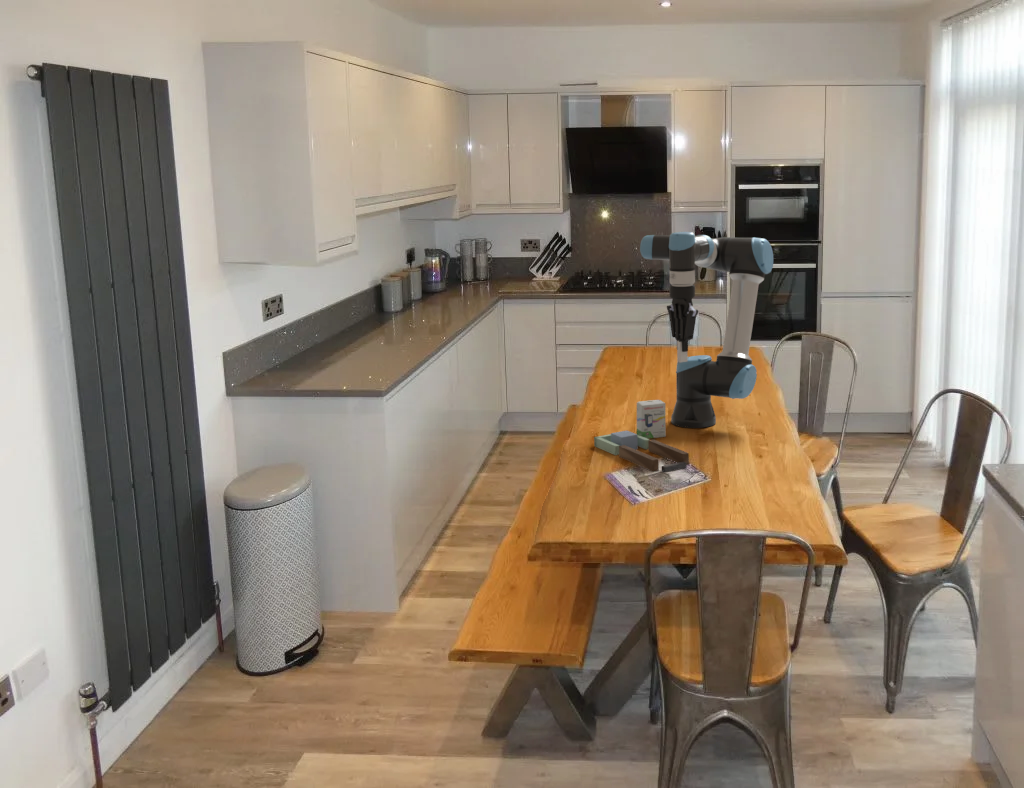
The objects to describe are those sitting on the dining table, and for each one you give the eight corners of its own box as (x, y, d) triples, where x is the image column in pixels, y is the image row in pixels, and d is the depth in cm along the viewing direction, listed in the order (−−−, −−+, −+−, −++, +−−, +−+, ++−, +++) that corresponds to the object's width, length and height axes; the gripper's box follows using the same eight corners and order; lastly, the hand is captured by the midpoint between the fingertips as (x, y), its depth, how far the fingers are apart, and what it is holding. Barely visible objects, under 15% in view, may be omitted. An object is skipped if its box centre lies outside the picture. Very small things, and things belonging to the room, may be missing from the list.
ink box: (659, 433, 337) (659, 399, 335) (666, 437, 333) (666, 402, 330) (636, 436, 335) (635, 401, 333) (642, 439, 330) (641, 404, 328)
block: (627, 445, 325) (626, 430, 324) (637, 449, 320) (637, 434, 319) (611, 448, 323) (611, 433, 322) (621, 452, 317) (621, 437, 316)
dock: (627, 439, 331) (627, 430, 330) (650, 448, 320) (650, 439, 319) (594, 446, 325) (594, 437, 325) (615, 455, 314) (615, 446, 314)
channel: (653, 450, 318) (653, 439, 318) (688, 464, 303) (688, 453, 302) (619, 456, 313) (619, 446, 312) (653, 471, 297) (653, 460, 296)
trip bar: (683, 466, 301) (683, 461, 301) (686, 467, 300) (686, 462, 299) (661, 470, 297) (661, 466, 297) (664, 472, 296) (664, 467, 296)
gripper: (659, 283, 306) (659, 359, 311) (684, 288, 294) (685, 367, 300) (679, 281, 309) (679, 356, 314) (705, 285, 297) (705, 363, 303)
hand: (682, 361), depth 307 cm, fingers closed
